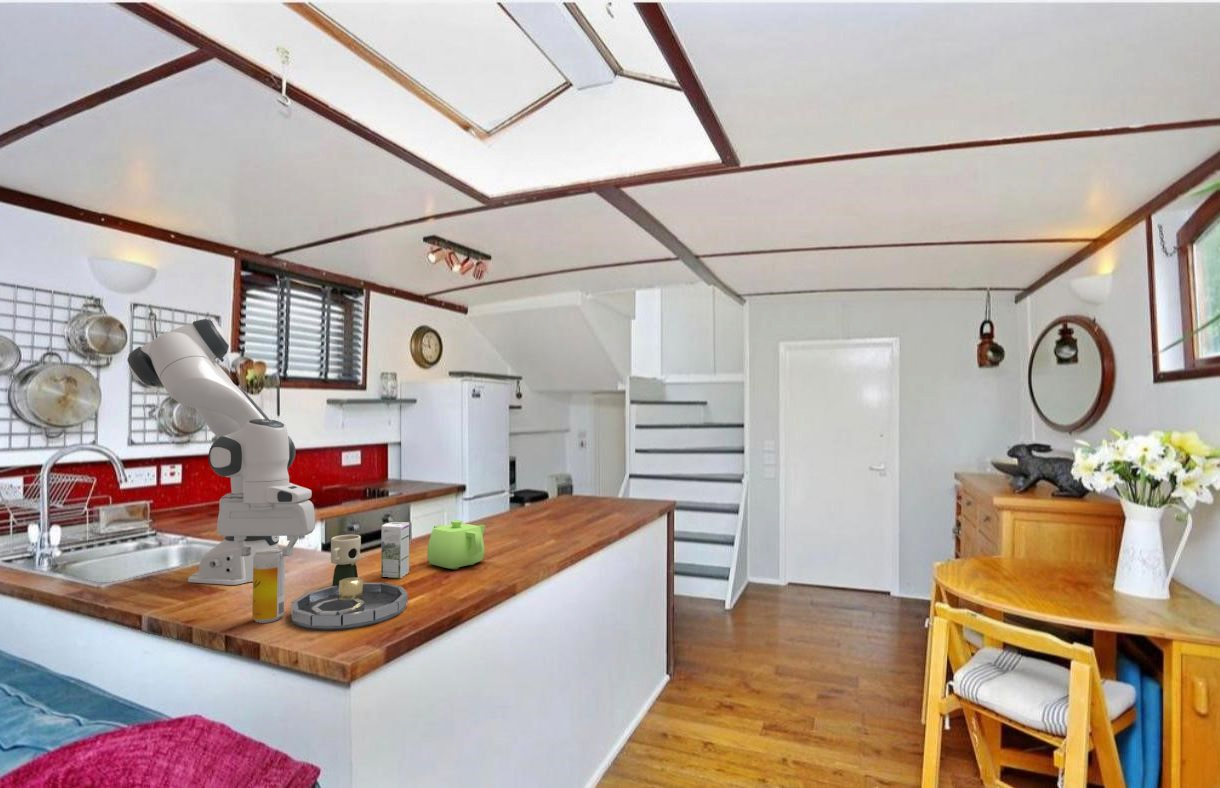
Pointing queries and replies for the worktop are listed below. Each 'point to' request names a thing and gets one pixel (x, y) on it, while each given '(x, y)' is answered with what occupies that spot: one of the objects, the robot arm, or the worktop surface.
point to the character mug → (345, 556)
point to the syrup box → (395, 550)
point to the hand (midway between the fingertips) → (266, 555)
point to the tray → (348, 605)
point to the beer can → (268, 585)
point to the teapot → (456, 545)
